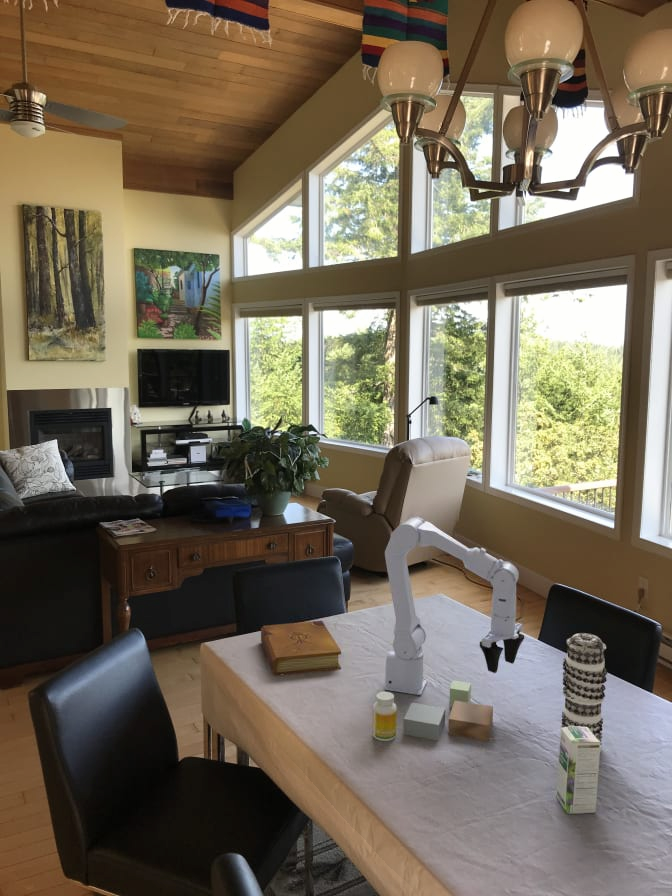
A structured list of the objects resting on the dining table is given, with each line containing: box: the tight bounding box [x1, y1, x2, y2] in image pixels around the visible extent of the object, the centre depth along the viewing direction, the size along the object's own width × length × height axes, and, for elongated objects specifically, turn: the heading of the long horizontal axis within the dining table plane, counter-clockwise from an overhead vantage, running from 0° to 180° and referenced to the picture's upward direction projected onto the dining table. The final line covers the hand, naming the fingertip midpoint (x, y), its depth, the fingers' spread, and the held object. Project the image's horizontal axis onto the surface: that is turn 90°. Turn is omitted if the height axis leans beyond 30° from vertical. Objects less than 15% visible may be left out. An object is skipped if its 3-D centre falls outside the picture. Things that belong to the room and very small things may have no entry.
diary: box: [260, 620, 342, 676], centre depth 201 cm, size 23×19×6 cm
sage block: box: [448, 679, 472, 709], centre depth 173 cm, size 4×4×5 cm
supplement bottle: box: [371, 691, 398, 742], centre depth 158 cm, size 5×5×10 cm
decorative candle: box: [560, 632, 608, 753], centre depth 153 cm, size 9×9×25 cm
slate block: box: [403, 702, 446, 741], centre depth 162 cm, size 8×8×4 cm
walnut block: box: [447, 701, 494, 742], centre depth 162 cm, size 9×9×4 cm
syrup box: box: [556, 726, 602, 815], centre depth 134 cm, size 6×6×14 cm
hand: (501, 666), depth 172 cm, fingers open, 7 cm apart
